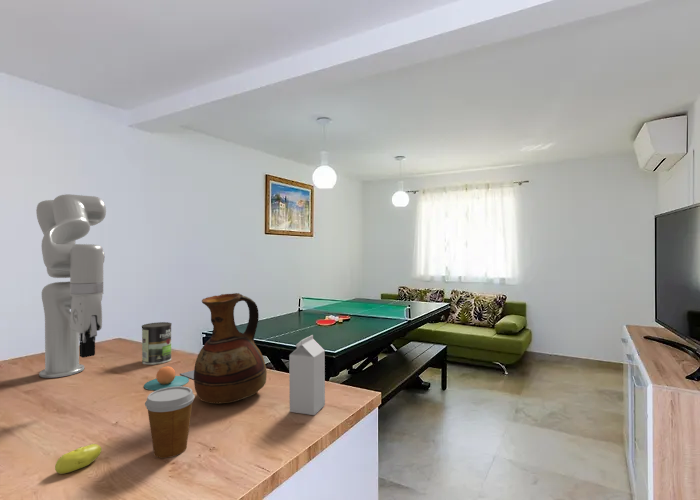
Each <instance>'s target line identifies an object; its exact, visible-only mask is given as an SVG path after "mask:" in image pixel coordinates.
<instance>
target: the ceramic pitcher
mask: <svg viewBox="0 0 700 500" xmlns="http://www.w3.org/2000/svg"><path fill="white" fill-rule="evenodd" d="M242 301H244V302H245V303H246V305H247V307H248V322H247V326H246V329H245V331H244V332H240V331H239V330H238V328H237V325H236V322H235V307H236V305H237V303H239V302H242ZM201 302H202V304H203V305H205V307H207V308H208V310H209V311H210V322H211V324H212V326H213V327H212V328H213V329H212V333H211V337H210V338H209V339H208V340H207V341H206V342H205V343H204V345H203V346H202V347H201V349H200V351H198V354H197V357H196V359H195V362H194V363H195V364H194V369H193V370H194V380H193V386H194V389H195V392H196V395H197V397H198V398H199V399H200V400H201V401H202V402H205V403H209V404H227V403H228V404H230V403H233V402H237V401H241V400H242V399H243V400H244V399H245V398H249V397H251V396H253V395H255V394H257V393H258V392H260V390H261V389H262V388H263V387H264V386H265V385H266V383H267V366H266V363H265V360H264V356H263V353H262V352H261V350H260V348H259V347H258V346H257V345H256V343H255V336H256V333H257V328H258V323H259V318H260V317H259V316H260V315H259V307H258V305H257V304H256V302H255V301H254V300H253V299H252V298H250V297H248V296H246V295H243V294H241V293H239V292H238V293H237V292H234V293H233V292H232V293H225V294H224V293H222V294H220V295H219V294H218V295H211V296H207V297H206V298H202V299H201Z"/></svg>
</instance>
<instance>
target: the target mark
mask: <svg viewBox="0 0 700 500" xmlns="http://www.w3.org/2000/svg"><path fill="white" fill-rule="evenodd" d="M189 379H190V378H188V377H185V376H183V375H175V378H174V380H173V381H172V382H171V383H169V384H160V383H159V382H158V381H157V378H153V379H151V380H149V381H147V382H145V383H144V384H143V388H144V389H146V390H148V391H157V390H159V389H163V388H168V387H177V386H182V387H184V385H186V384H188V383H189V382H190V380H189Z"/></svg>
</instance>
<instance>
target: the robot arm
mask: <svg viewBox="0 0 700 500" xmlns="http://www.w3.org/2000/svg"><path fill="white" fill-rule="evenodd" d="M106 208H107V207H106V204H105V202H104V201H103V199H102V198H100V197H98V196H94V195H93V196H92V195H84V194H83V195H82V194H81V195H80V194H66V193H65V194H61V195H58V196H56V197H55V198H54V199H46V200H42V201H40V202H38V203H37V205H36V209H35V210H36V219H37V222H38V225H39V227H40V230H41V232H42V233H43V237H42V239H41V255H42V259H43V263H44V266H45V267H46V273H47V275H48V276H49V277H51V278H54V279H68V278H69V279H70V281H57V282H51V283H48V284H46V285H45V286H44V287H43V288H42V291H41V301H42V302H41V303H42V307H43V313H44V363H45V364H44V369H42V370H41V371H40V372H39V373H38V374H39V377H40V378H44V379H49V378H50V379H51V378H52V379H53V378H62V377H66V376H73V375H75V374H79V373H80V372H82V371H84V370H85V365H84V364H80V358H88V357H93V356H95V355H96V337H97V336H98V331H100V330H102V329H103V328H102V327H103V311H102V310H103V309H102V308H103V307H102V302H103V301H102V300H103V295H104V263H105V251H104V249H103V247H102V246H101V245H99V244H93V243H92V244H89V243H88V244H87V243H86V244H85V243H83V244H82V243H78V244H77V243H76V241H77V240H80V239H83V238H84V237H86V236H87V235H88V234H89V232H90V230H91V226H93V227H94V226H95V225H98V224H100V223H102V222H103V221H104V219H105V218H106V214H107V209H106Z"/></svg>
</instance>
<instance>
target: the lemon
mask: <svg viewBox="0 0 700 500" xmlns="http://www.w3.org/2000/svg"><path fill="white" fill-rule="evenodd" d="M101 452H102V447H101V446H100V445H99V444H97V443H91V444H88V445H84V446H80V447H78V448H76V449H74V450H71V451H68V452H67V453H63V454H62V455H61V456H60V457H59V458H58V459H57V461H56V463H55V466H54V470H55V472H56V473H58V474H61V475H63V474H68V473H71V472H74V471H77V470H79V469H82V468H85V467H87V466H89V465H90V464H92V462H94V461H95V460H96V459H97V458H98V457H99V456H100V455H101Z"/></svg>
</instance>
